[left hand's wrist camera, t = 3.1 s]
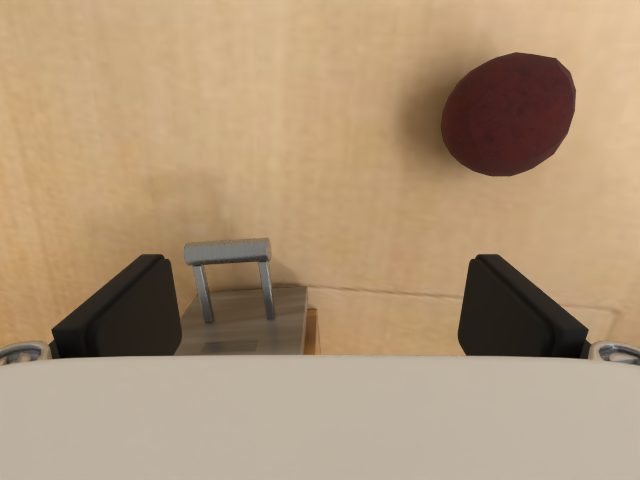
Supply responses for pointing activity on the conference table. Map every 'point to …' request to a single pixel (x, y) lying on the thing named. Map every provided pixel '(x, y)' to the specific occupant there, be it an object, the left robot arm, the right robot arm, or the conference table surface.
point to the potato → (509, 114)
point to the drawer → (241, 307)
